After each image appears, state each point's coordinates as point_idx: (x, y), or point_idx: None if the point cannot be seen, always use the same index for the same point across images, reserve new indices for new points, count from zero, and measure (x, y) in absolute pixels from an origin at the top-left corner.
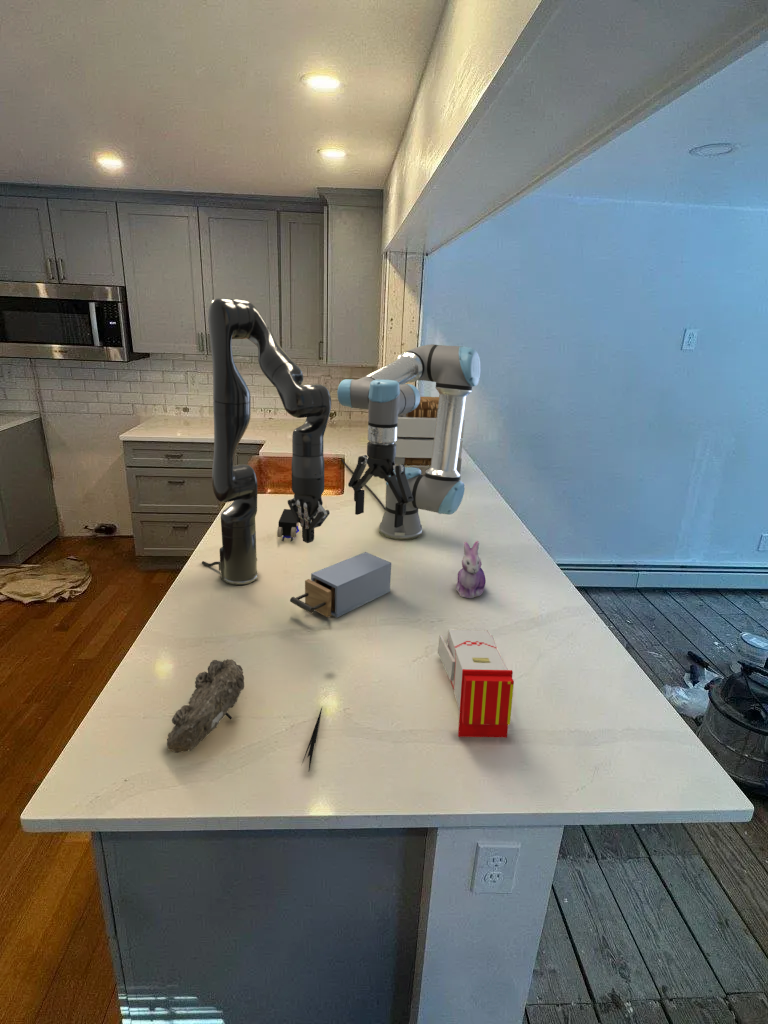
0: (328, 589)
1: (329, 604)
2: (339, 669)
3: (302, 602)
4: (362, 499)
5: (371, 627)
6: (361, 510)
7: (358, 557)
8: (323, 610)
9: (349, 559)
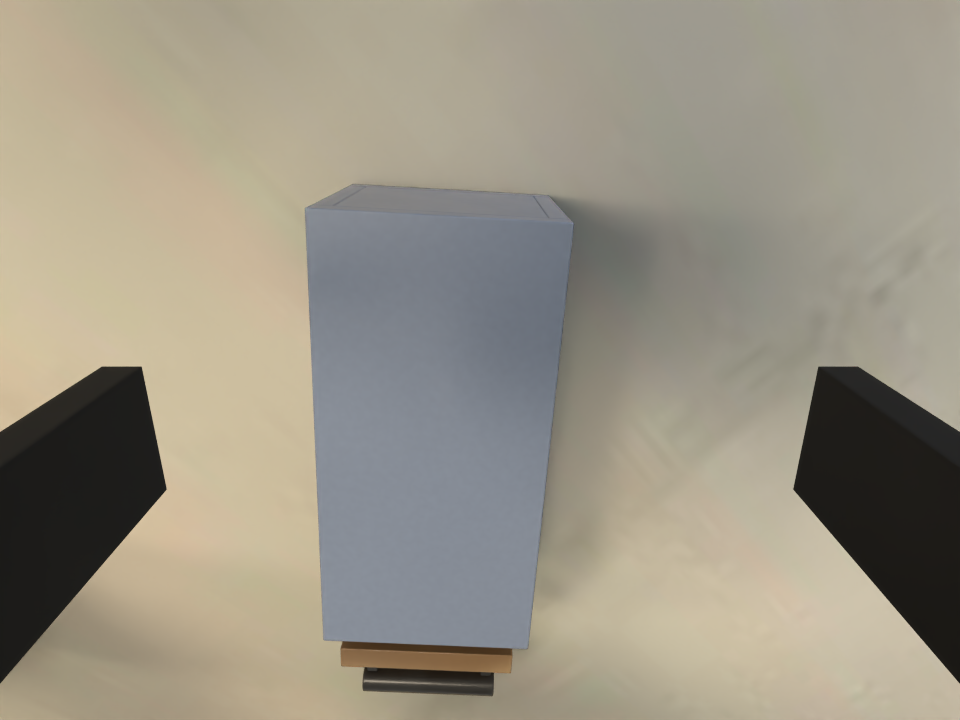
0: (494, 657)
1: None
2: (730, 715)
3: (430, 690)
4: (2, 525)
5: (673, 498)
6: (127, 432)
7: (345, 323)
8: None
9: (328, 388)
